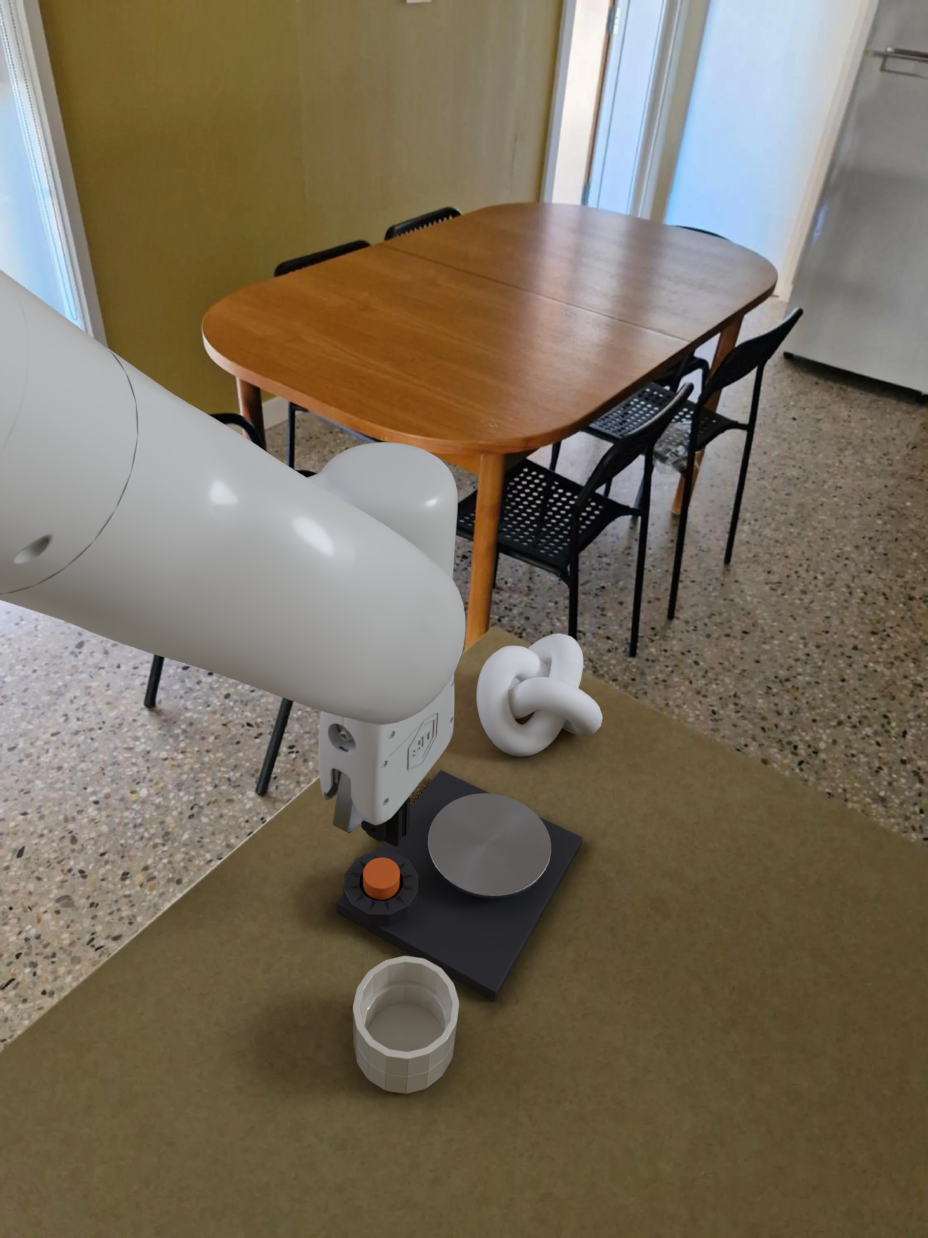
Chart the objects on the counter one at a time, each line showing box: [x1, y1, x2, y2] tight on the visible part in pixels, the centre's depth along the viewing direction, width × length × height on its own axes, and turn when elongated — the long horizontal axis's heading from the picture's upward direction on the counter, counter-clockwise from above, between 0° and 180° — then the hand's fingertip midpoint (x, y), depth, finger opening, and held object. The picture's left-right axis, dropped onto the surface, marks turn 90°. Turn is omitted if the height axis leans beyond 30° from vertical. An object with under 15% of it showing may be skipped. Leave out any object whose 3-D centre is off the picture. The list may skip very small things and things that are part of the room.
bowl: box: [352, 955, 460, 1095], centre depth 60 cm, size 7×7×6 cm
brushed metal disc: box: [428, 792, 551, 898], centre depth 72 cm, size 10×10×1 cm
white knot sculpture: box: [476, 632, 603, 758], centre depth 84 cm, size 11×12×9 cm
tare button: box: [363, 858, 400, 900], centre depth 68 cm, size 3×3×2 cm
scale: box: [336, 769, 584, 1002], centre depth 72 cm, size 16×14×3 cm
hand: (385, 830), depth 65 cm, fingers closed
